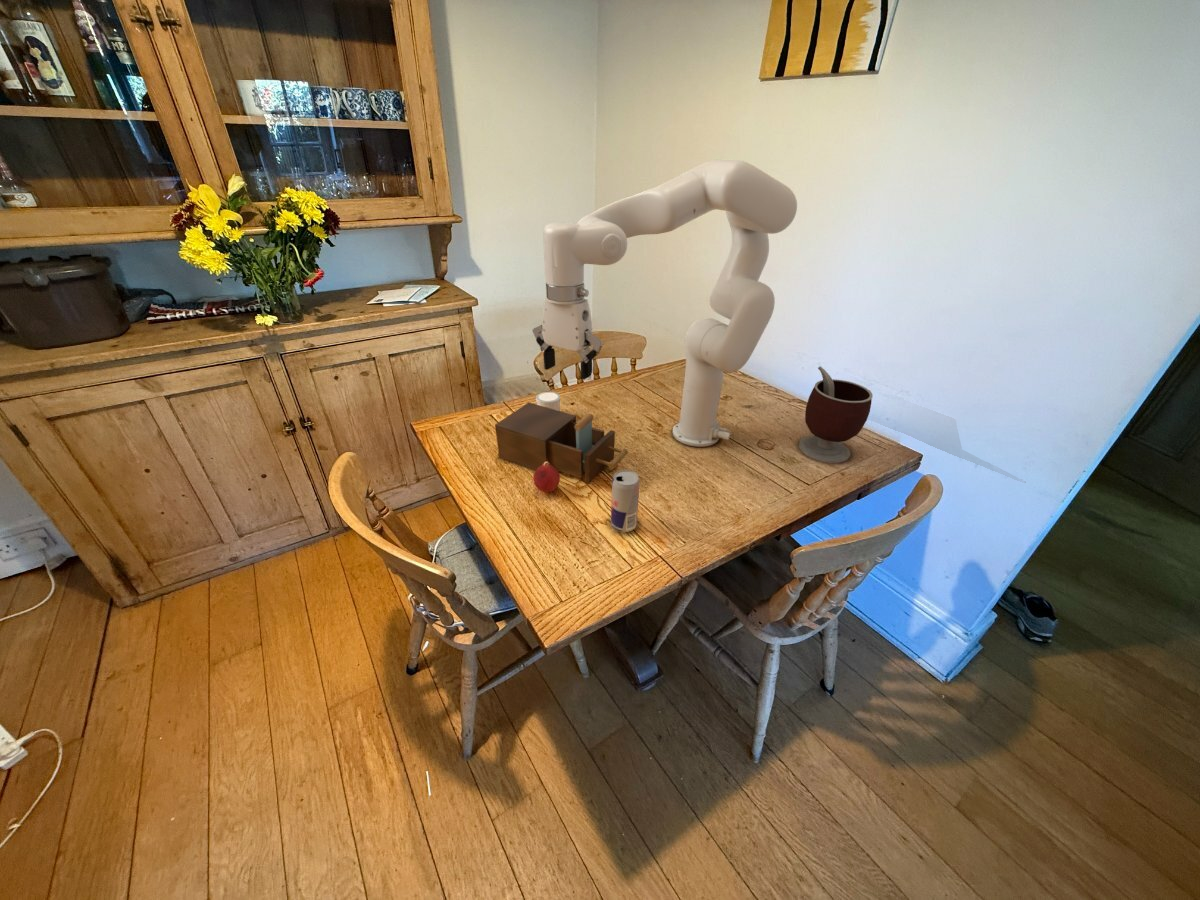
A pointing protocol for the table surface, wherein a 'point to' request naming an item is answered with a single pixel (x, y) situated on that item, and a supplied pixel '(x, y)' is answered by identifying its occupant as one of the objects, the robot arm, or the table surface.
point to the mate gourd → (834, 418)
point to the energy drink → (624, 500)
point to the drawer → (571, 459)
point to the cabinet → (529, 434)
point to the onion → (546, 477)
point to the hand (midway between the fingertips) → (567, 372)
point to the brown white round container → (549, 400)
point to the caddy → (584, 435)
